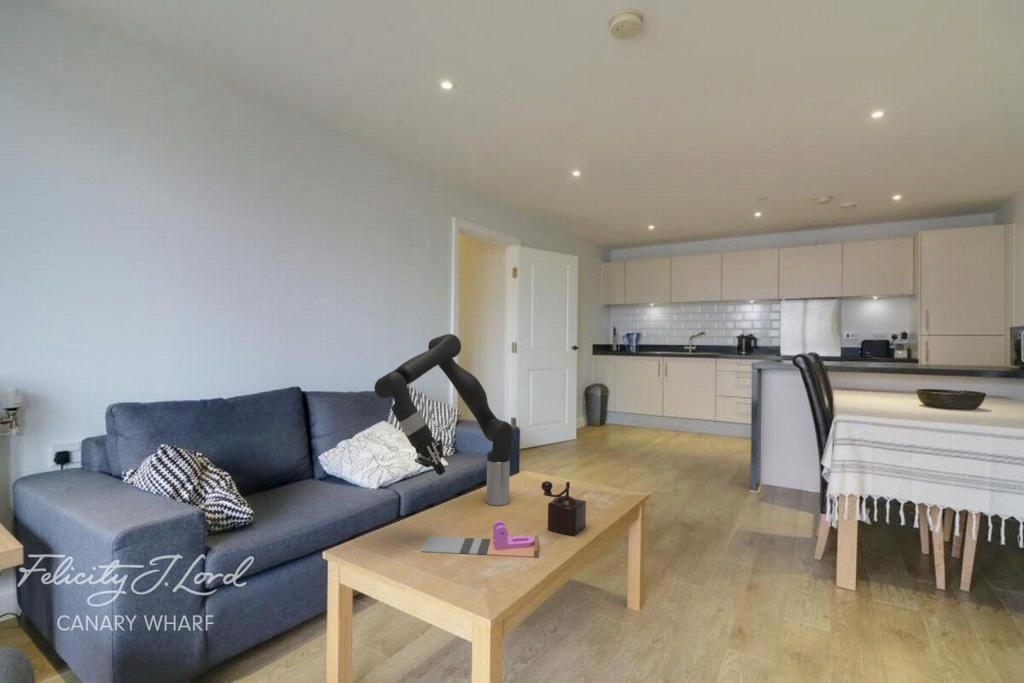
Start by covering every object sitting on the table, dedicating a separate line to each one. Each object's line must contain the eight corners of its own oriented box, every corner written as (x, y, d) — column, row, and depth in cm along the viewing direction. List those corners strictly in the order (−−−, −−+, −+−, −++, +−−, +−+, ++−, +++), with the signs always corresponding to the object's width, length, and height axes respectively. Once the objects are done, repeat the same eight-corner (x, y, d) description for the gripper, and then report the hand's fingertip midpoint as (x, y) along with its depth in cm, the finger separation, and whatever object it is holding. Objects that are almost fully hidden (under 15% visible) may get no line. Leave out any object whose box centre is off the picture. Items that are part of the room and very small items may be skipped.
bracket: (495, 549, 149) (496, 527, 149) (493, 542, 155) (493, 520, 154) (536, 546, 151) (536, 525, 151) (532, 539, 157) (532, 518, 157)
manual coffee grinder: (558, 520, 175) (559, 471, 175) (586, 527, 169) (587, 476, 169) (538, 534, 162) (538, 481, 162) (567, 542, 156) (568, 487, 156)
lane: (429, 537, 158) (429, 531, 158) (538, 542, 156) (538, 536, 156) (421, 551, 147) (421, 545, 147) (537, 557, 145) (538, 550, 145)
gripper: (420, 422, 163) (445, 465, 164) (395, 441, 152) (422, 487, 153) (434, 415, 159) (461, 460, 160) (410, 434, 147) (438, 482, 149)
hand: (442, 473), depth 156 cm, fingers closed
